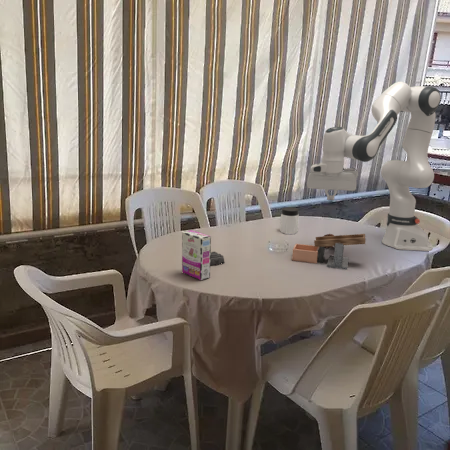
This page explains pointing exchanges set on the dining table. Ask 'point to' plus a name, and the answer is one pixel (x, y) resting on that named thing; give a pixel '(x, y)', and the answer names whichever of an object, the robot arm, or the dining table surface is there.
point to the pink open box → (305, 253)
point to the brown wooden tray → (340, 240)
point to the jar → (289, 220)
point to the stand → (334, 257)
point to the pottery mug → (329, 246)
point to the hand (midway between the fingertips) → (330, 199)
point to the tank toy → (216, 258)
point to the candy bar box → (196, 254)
